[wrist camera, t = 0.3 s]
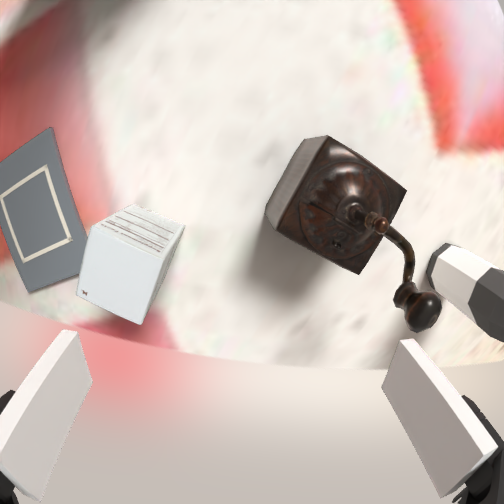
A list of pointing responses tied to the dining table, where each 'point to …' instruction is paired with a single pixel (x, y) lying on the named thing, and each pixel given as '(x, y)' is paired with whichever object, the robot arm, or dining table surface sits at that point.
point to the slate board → (40, 214)
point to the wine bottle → (470, 286)
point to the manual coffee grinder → (346, 216)
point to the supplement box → (128, 261)
